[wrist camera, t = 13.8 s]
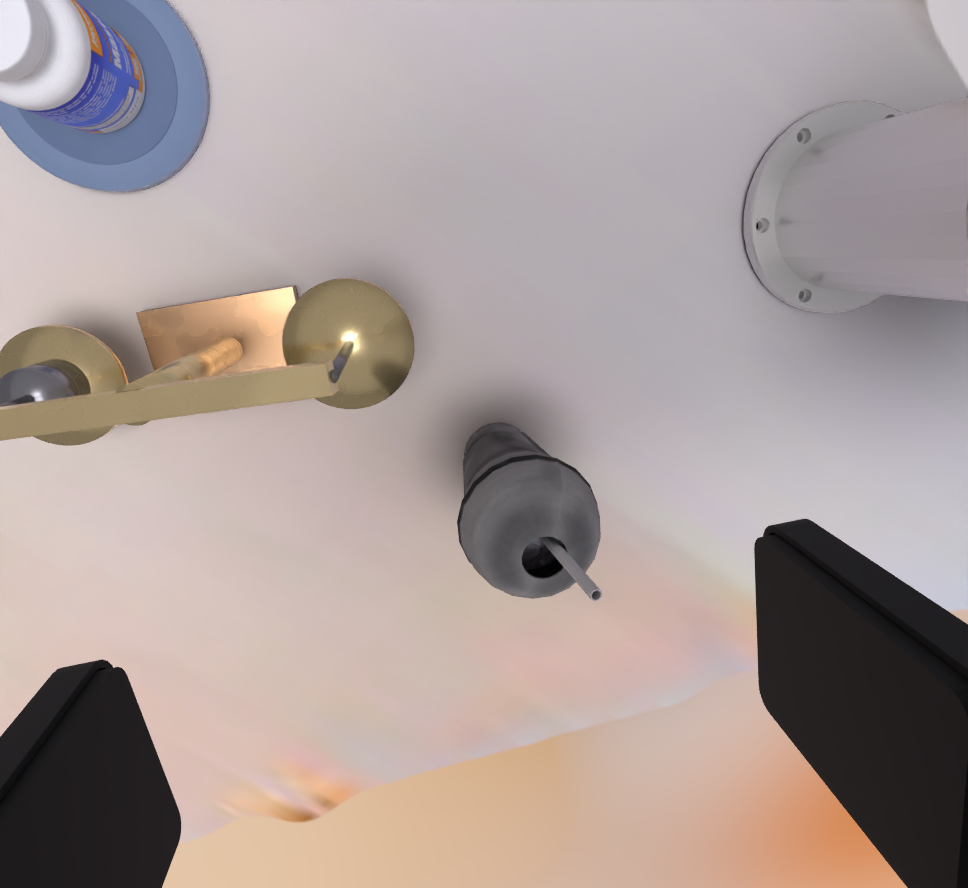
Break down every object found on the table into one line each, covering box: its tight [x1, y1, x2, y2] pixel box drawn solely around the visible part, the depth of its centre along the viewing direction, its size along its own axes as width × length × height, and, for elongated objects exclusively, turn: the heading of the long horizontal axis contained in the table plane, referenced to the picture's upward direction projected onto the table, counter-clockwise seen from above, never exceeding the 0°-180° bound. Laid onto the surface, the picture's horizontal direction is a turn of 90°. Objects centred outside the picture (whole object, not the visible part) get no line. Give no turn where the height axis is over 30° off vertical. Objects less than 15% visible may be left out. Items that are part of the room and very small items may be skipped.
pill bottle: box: [0, 0, 145, 133], centre depth 29 cm, size 5×5×10 cm
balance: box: [0, 278, 414, 445], centre depth 32 cm, size 22×6×18 cm, turn 99°
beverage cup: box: [457, 423, 602, 601], centre depth 34 cm, size 7×7×20 cm
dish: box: [0, 0, 210, 192], centre depth 34 cm, size 11×11×1 cm
